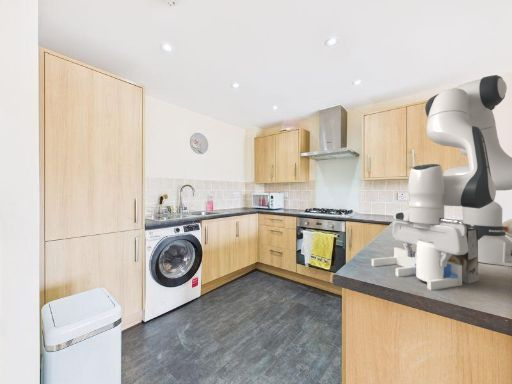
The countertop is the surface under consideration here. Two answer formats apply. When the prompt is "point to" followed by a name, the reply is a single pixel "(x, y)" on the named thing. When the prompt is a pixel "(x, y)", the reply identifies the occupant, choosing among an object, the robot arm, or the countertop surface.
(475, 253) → the coffee box
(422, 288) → the countertop surface
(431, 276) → the can
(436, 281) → the white pronged rack
